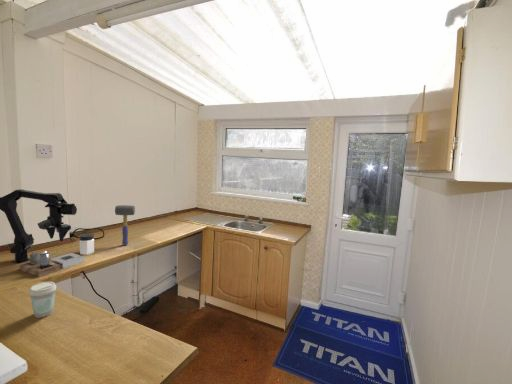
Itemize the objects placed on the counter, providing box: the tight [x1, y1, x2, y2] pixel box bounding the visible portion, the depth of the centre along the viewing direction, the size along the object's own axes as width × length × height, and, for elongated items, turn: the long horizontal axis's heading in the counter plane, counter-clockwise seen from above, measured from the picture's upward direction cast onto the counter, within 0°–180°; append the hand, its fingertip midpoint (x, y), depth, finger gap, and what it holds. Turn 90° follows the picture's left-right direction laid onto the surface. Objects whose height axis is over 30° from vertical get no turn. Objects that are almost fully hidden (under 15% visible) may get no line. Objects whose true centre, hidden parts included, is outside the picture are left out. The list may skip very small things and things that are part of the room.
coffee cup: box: [28, 281, 57, 319], centre depth 102 cm, size 8×8×12 cm
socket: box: [49, 252, 85, 269], centre depth 151 cm, size 12×12×3 cm
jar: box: [78, 233, 95, 256], centre depth 167 cm, size 9×8×12 cm
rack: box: [18, 251, 61, 278], centre depth 139 cm, size 18×10×9 cm, turn 68°
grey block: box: [39, 250, 50, 269], centre depth 138 cm, size 4×4×12 cm
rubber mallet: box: [114, 204, 136, 246], centre depth 185 cm, size 12×8×30 cm, turn 106°
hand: (56, 239), depth 152 cm, fingers open, 9 cm apart
